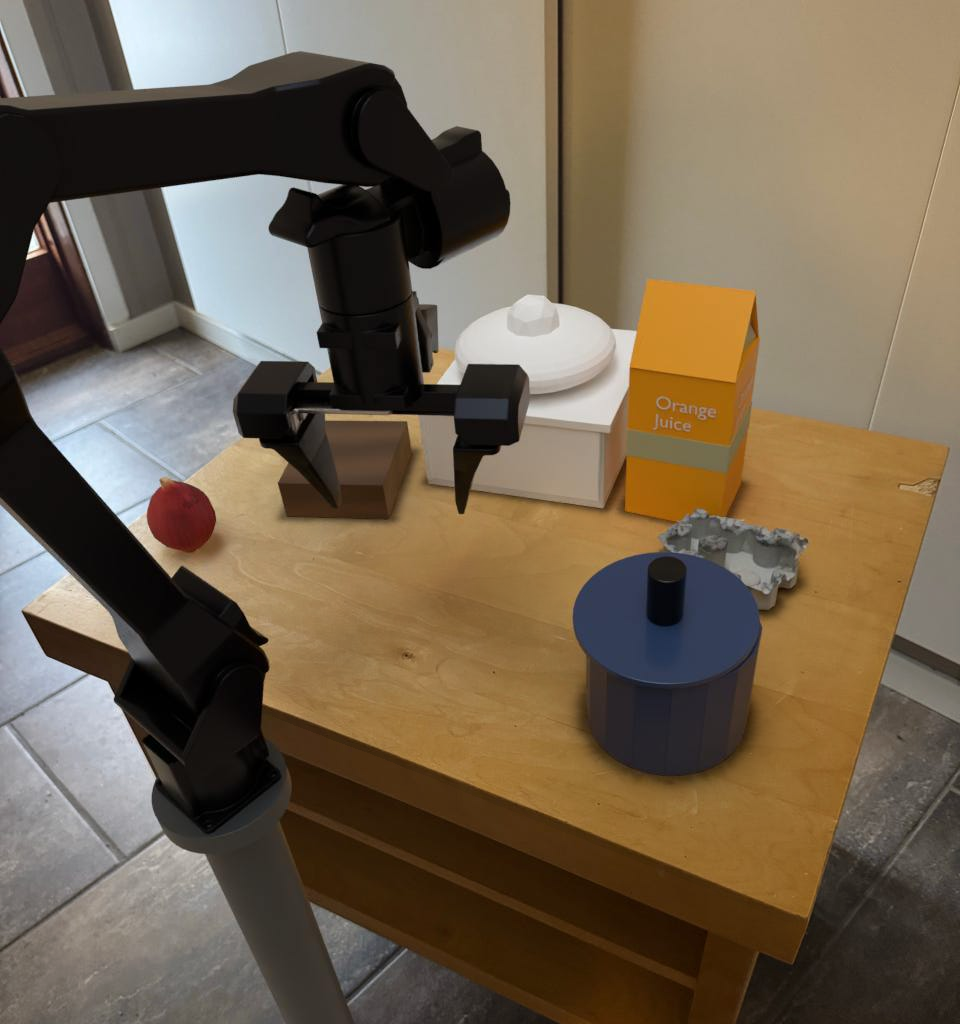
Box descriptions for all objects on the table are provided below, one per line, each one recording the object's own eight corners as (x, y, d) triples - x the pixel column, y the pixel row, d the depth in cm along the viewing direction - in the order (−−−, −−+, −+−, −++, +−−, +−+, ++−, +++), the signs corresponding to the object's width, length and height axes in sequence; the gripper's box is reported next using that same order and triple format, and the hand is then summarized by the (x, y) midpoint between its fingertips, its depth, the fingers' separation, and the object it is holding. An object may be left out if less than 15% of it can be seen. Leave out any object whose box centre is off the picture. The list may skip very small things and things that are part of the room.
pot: (687, 803, 64) (697, 711, 58) (556, 723, 70) (552, 633, 64) (775, 705, 69) (793, 612, 63) (647, 639, 75) (652, 548, 69)
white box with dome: (487, 394, 105) (475, 247, 94) (650, 412, 100) (658, 259, 89) (426, 484, 93) (405, 329, 82) (608, 510, 88) (611, 348, 77)
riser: (388, 519, 90) (382, 485, 87) (286, 516, 91) (277, 482, 89) (412, 454, 98) (407, 421, 95) (317, 452, 99) (310, 420, 97)
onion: (216, 524, 91) (192, 451, 86) (232, 556, 87) (208, 482, 82) (155, 544, 90) (127, 471, 84) (169, 578, 86) (140, 504, 80)
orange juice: (650, 466, 93) (661, 259, 79) (742, 483, 89) (770, 270, 76) (623, 512, 88) (630, 299, 74) (719, 531, 84) (745, 313, 71)
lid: (691, 726, 58) (697, 670, 54) (536, 640, 64) (531, 585, 60) (792, 610, 63) (803, 552, 60) (641, 541, 70) (642, 484, 66)
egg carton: (808, 578, 79) (817, 539, 76) (756, 625, 76) (762, 586, 73) (701, 528, 85) (705, 489, 82) (647, 569, 81) (650, 530, 79)
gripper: (536, 241, 62) (543, 450, 73) (263, 243, 65) (308, 443, 76) (510, 319, 54) (523, 540, 65) (201, 317, 57) (261, 528, 68)
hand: (399, 508), depth 69 cm, fingers open, 9 cm apart
